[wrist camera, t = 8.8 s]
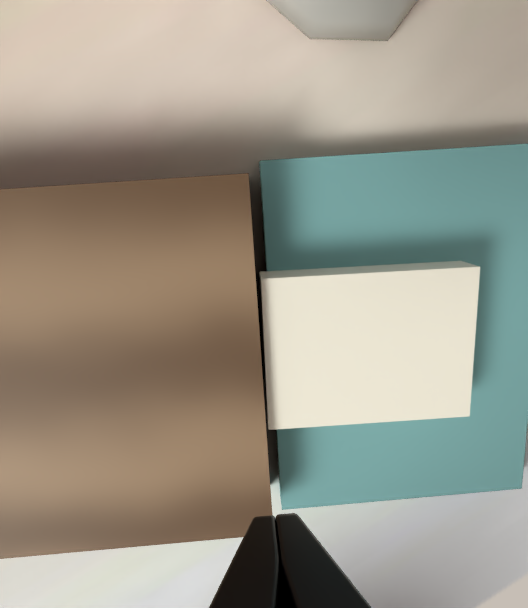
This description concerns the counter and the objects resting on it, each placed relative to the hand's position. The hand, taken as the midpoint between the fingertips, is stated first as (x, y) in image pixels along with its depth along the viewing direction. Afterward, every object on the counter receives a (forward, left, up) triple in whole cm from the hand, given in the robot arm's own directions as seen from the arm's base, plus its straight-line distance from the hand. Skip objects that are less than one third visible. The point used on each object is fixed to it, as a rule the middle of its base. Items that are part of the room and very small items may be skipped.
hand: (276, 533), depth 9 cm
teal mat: (0, -6, -11) cm, 12 cm away
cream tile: (0, -4, -10) cm, 11 cm away
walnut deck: (0, +6, -11) cm, 12 cm away
